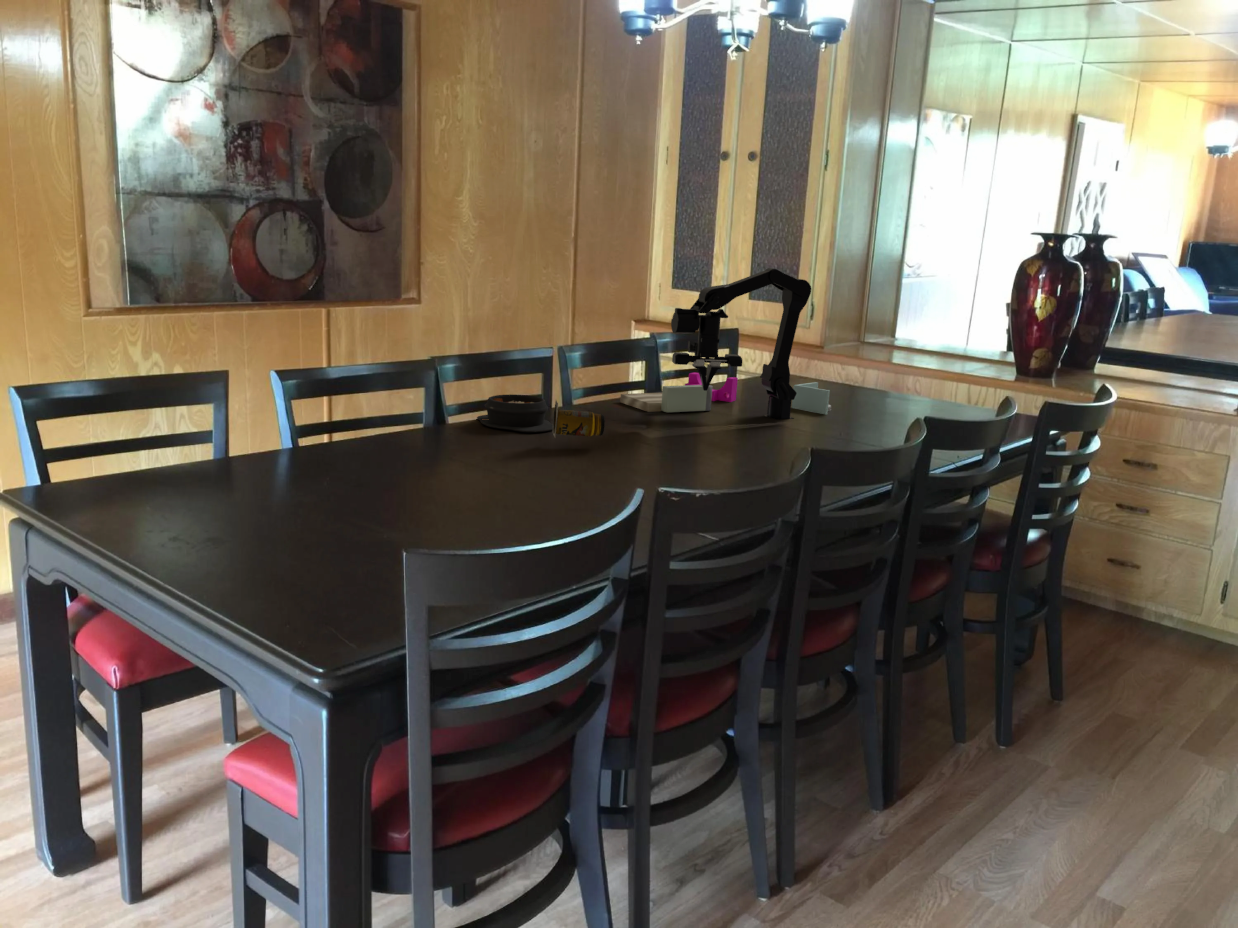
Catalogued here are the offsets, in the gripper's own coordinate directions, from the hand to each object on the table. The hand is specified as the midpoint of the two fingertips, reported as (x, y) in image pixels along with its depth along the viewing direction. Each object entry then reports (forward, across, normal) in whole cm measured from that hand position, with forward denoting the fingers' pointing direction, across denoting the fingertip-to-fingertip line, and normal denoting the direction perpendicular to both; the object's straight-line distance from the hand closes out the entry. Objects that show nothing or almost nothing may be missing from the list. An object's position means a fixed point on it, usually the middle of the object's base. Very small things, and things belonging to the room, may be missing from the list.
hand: (705, 390), depth 270 cm
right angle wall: (+8, -39, -19) cm, 44 cm away
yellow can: (+3, +43, +33) cm, 54 cm away
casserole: (+11, +52, +8) cm, 54 cm away
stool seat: (+7, +9, -16) cm, 20 cm away
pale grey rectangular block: (+7, -2, -10) cm, 13 cm away
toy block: (+8, -8, -32) cm, 34 cm away
